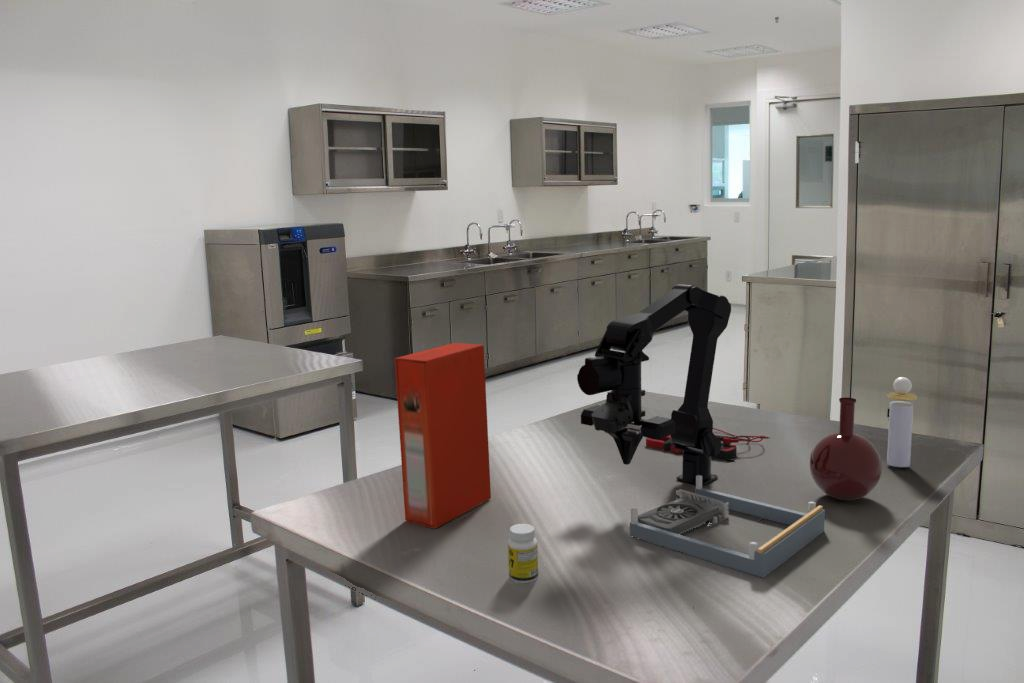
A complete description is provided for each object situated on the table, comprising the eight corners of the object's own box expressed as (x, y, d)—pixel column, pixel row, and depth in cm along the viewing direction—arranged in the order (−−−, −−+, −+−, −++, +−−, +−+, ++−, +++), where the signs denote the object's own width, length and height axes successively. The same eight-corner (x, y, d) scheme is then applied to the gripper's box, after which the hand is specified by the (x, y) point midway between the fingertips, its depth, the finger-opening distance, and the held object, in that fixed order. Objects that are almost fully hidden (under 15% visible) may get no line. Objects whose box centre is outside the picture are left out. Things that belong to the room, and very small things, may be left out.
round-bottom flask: (847, 516, 152) (852, 411, 148) (793, 494, 163) (796, 397, 160) (895, 502, 158) (900, 401, 154) (840, 482, 169) (843, 388, 166)
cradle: (697, 498, 163) (698, 474, 162) (824, 531, 145) (825, 504, 144) (629, 536, 146) (629, 509, 145) (763, 578, 129) (764, 548, 128)
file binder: (404, 520, 157) (394, 357, 151) (459, 492, 170) (452, 342, 165) (436, 529, 152) (427, 361, 146) (491, 499, 166) (484, 345, 160)
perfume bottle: (917, 471, 174) (922, 380, 170) (889, 471, 174) (893, 380, 171) (907, 462, 179) (911, 374, 176) (879, 462, 180) (884, 374, 177)
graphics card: (679, 486, 162) (730, 500, 152) (680, 504, 162) (730, 520, 153) (620, 509, 151) (670, 526, 142) (621, 528, 152) (671, 547, 143)
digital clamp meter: (741, 448, 181) (639, 432, 196) (740, 467, 182) (639, 450, 196) (775, 422, 200) (681, 409, 214) (775, 440, 200) (681, 426, 215)
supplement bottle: (508, 571, 134) (506, 523, 132) (536, 569, 134) (535, 521, 133) (510, 585, 129) (508, 535, 128) (540, 583, 129) (538, 533, 128)
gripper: (561, 387, 157) (563, 465, 160) (643, 401, 144) (643, 485, 147) (597, 377, 165) (598, 451, 168) (677, 389, 152) (676, 469, 155)
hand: (626, 464), depth 159 cm, fingers closed
